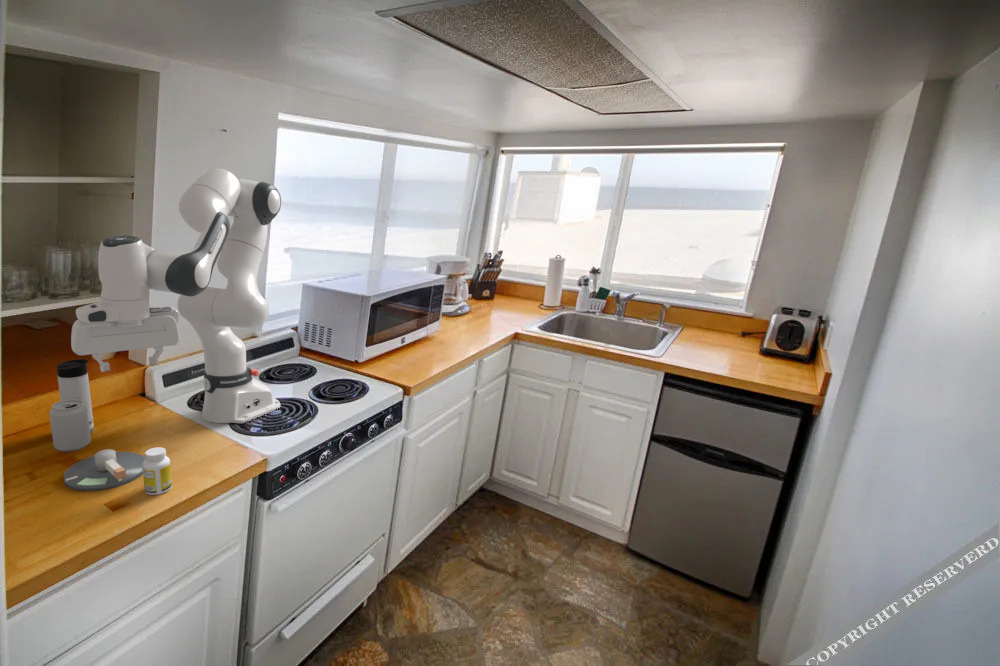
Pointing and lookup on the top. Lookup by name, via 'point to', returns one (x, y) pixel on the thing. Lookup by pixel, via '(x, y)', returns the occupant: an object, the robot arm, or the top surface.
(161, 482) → the supplement bottle
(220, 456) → the top surface
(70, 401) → the can
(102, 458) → the needle
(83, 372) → the travel mug
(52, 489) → the top surface
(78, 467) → the dial plate
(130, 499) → the top surface
